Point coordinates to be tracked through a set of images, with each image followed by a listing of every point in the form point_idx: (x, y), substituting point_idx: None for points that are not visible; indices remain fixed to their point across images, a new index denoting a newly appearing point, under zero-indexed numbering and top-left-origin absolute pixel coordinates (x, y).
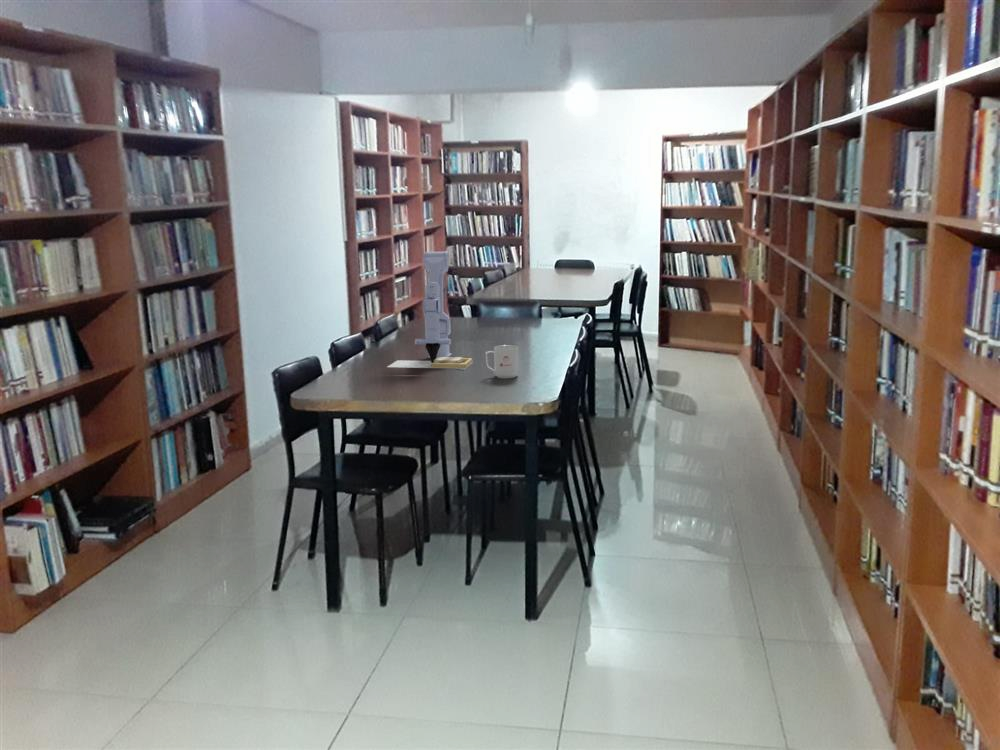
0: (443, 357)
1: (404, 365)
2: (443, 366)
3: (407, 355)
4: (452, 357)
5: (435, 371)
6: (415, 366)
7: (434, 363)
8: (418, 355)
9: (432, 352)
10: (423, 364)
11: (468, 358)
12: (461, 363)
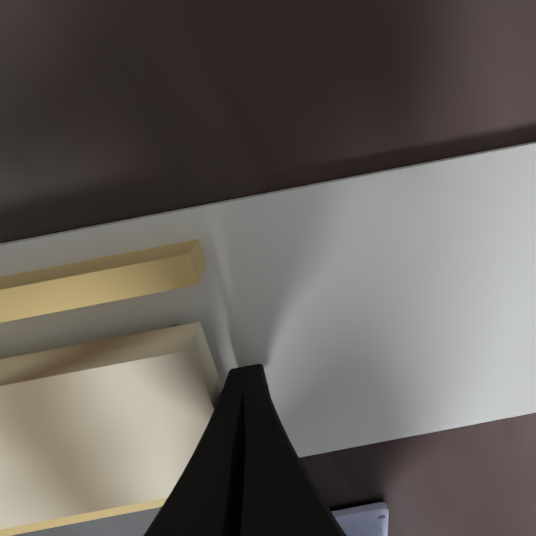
0: (172, 477)
1: (521, 250)
2: (39, 272)
3: (519, 514)
4: (83, 499)
5: (36, 82)
6: (392, 236)
7: (145, 275)
8: (459, 528)
9: (225, 490)
10: (341, 339)
11: (2, 532)
12: None
